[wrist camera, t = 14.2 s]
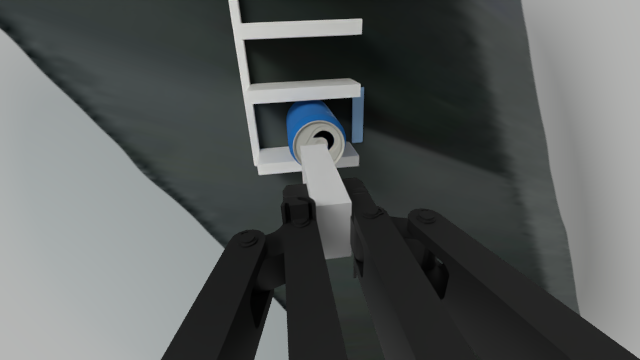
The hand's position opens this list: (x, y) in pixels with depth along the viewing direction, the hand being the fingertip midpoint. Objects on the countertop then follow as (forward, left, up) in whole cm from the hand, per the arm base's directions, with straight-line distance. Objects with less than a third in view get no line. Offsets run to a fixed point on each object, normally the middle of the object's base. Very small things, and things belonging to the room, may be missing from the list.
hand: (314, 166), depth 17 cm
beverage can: (+3, +2, -25) cm, 25 cm away
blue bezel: (+4, +9, -25) cm, 27 cm away
